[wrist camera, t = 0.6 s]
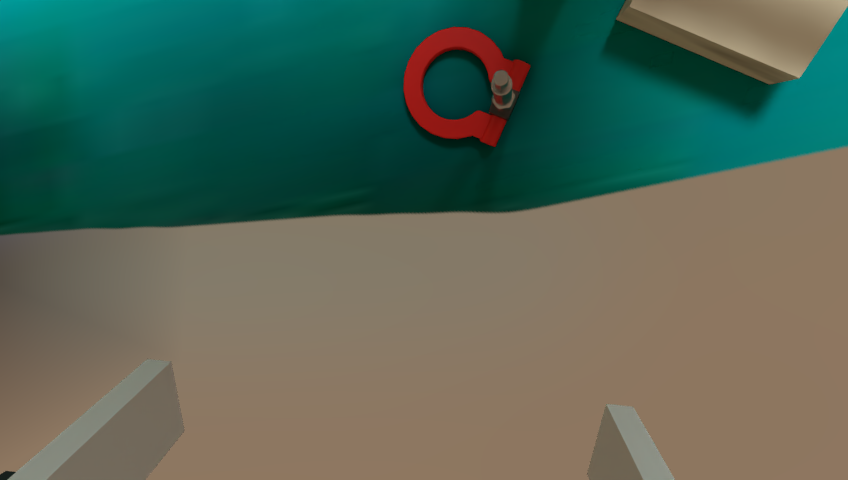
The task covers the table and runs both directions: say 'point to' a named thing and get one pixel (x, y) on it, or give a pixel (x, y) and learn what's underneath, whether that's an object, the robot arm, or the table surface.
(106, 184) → the table surface
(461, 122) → the tow hook
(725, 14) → the jig
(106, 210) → the table surface
